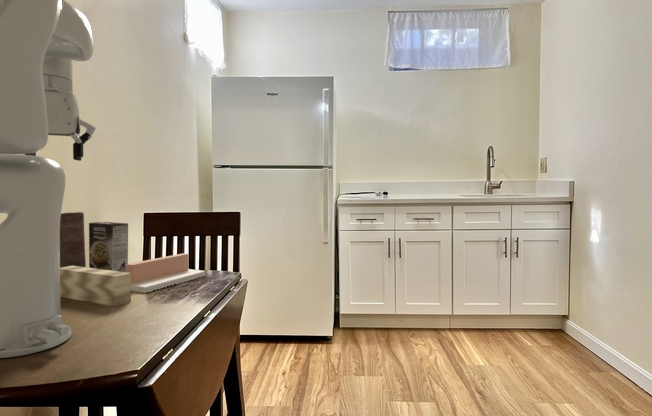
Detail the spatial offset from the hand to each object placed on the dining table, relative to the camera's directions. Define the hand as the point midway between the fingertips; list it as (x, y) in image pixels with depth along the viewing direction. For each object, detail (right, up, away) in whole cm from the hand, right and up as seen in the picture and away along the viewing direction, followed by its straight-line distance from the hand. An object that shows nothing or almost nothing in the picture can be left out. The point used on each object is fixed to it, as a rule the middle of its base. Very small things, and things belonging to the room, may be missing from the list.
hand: (54, 159), depth 89 cm
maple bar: (+9, -34, 0) cm, 35 cm away
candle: (-5, -33, +12) cm, 36 cm away
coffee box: (-2, -33, +25) cm, 41 cm away
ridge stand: (+17, -33, +18) cm, 41 cm away
